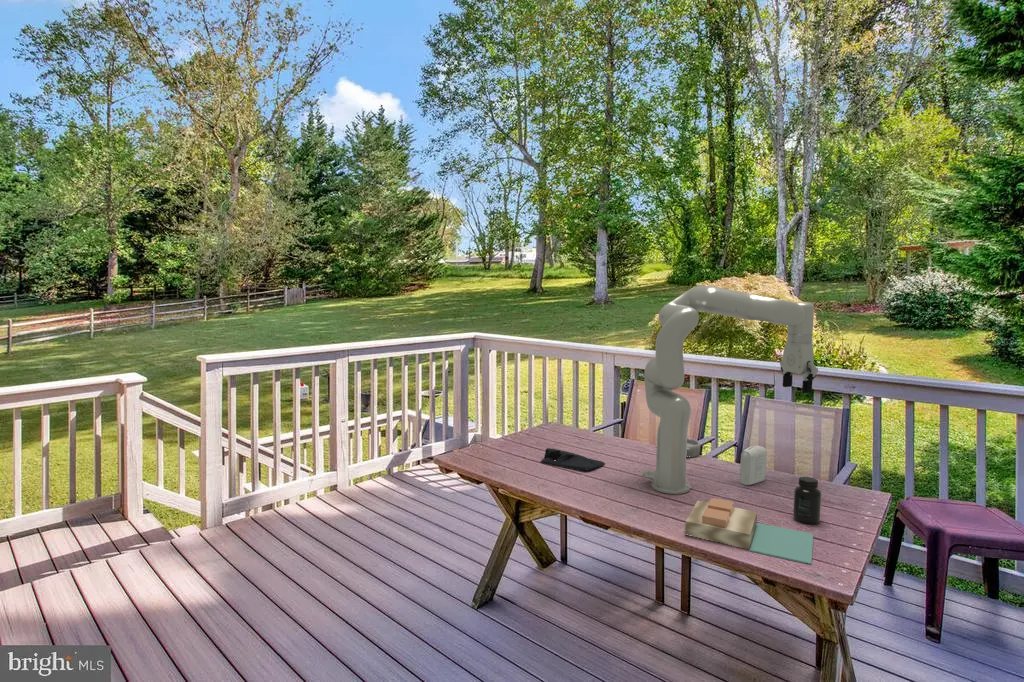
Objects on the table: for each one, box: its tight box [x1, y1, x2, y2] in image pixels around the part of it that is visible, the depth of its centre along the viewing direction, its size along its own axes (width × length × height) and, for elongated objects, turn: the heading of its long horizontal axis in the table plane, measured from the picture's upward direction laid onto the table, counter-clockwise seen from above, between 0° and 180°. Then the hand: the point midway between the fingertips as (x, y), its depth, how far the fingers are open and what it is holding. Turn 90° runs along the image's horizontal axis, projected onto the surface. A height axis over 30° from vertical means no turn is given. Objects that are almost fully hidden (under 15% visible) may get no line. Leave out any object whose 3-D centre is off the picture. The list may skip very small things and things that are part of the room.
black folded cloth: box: [540, 447, 606, 472], centre depth 210 cm, size 15×22×5 cm
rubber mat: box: [749, 522, 814, 565], centre depth 147 cm, size 14×18×1 cm
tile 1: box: [708, 497, 735, 516], centre depth 157 cm, size 6×6×2 cm
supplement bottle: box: [792, 476, 822, 525], centre depth 160 cm, size 7×7×12 cm
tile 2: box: [702, 508, 730, 528], centre depth 150 cm, size 6×6×2 cm
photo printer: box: [739, 445, 768, 486], centre depth 190 cm, size 10×4×12 cm, turn 123°
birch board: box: [684, 500, 758, 550], centre depth 154 cm, size 16×16×4 cm
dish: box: [687, 437, 701, 458], centre depth 222 cm, size 14×14×5 cm
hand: (796, 389), depth 190 cm, fingers open, 9 cm apart
